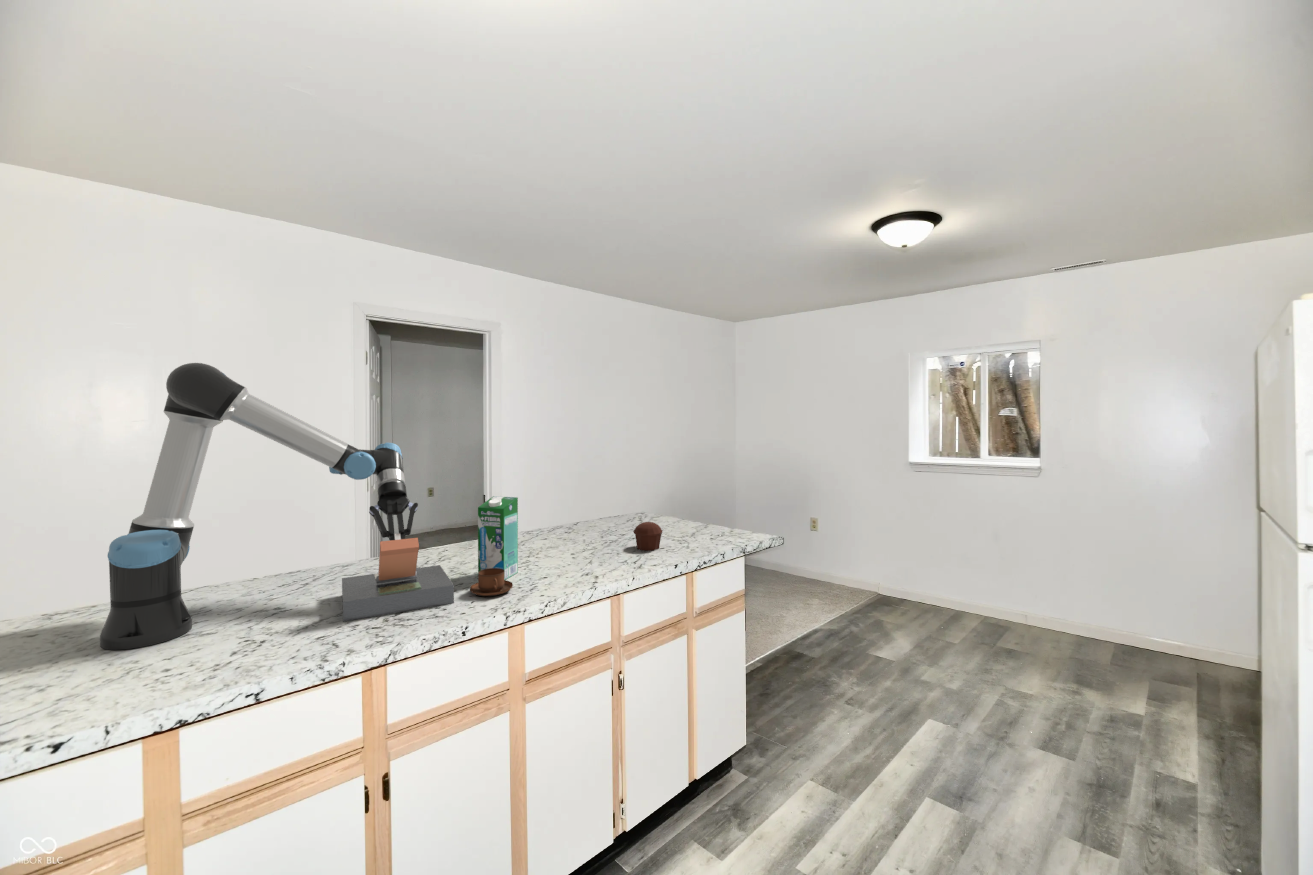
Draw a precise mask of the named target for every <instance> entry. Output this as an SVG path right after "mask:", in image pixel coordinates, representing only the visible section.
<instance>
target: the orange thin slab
mask: <svg viewBox="0 0 1313 875" xmlns="http://www.w3.org/2000/svg"><path fill="white" fill-rule="evenodd" d="M419 550H420V544H419V537H413V538H411V537H410V538H405V539H400V540H391V541H390V540H382V541H379V558H378V574H379V576H376V583H377V584H379V583H386V582H393V581H400V580H407V579H414V578H417V571H416V568H417V567H418V566H417V564H418V556H419Z"/></svg>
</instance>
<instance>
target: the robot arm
mask: <svg viewBox="0 0 1313 875" xmlns="http://www.w3.org/2000/svg"><path fill="white" fill-rule="evenodd" d="M165 382H166V383H165V384H166V386H165V387H166V392H167V398H166V402H165V405H164V409H163V413H164V415H165V416H166V417H167V418H168V421H169V422H168V423H167V424H168V425H167V428H166V431H165V434H164V438H163V442H162V446H161V449H160V452H159V456H158V459H157V460H158V461H157V463H156V466H155V470H154V473H153V477H152V481H151V484H150V487H149V491H148V495H147V498H146V502H145V505H144V509H143V512H142V514H140V515H139V516H137V517H135V518H134V519H132V521H131V523H130V526H129V530H128V533H127V534H124V535H120V536H118V537H116V538H115V539H113V540H112V541H111V542H110V543H109V547H108V552H107V560H108V569H109V570H108V571H109V596H110V597H109V599H110V610H109V613H108V615H107V617H106V619H105V623H104V624H103V628H102V630H101V632H100V635H99V646H100V647H101V649H105V650H111V651H119V650H122V651H123V650H130V649H132V650H133V649H138V648H144V647H149V646H153V645H156V644H157V645H158V644H160V643H164V642H167V641H170V640H173V639H176V638H179V637H180V636H183V635H185V634H186V633H188V632H190V631H191V630H192V628H193V618H192V616H191V613H190V612H189V610H188V608H187V606H186V604H185V602H184V601H185V600H184V599H183V597H182V575H181V574H182V573H181V570H182V569H181V568H182V567H181V566H182V564H183V562H184V561H185V560H186V558H187V557H188V555H189V553H190V549H191V548H190V547H191V546H190V542H191V539H192V534H193V531H194V527H195V523H194V522H193V521H192V520H191V519H190V513H191V510H192V506H193V503H194V500H195V499H194V498H195V495H196V492H197V488H198V484H199V480H200V477H201V473H202V470H203V466H204V463H205V459H206V455H207V452H208V449H209V445H210V440H211V437H212V434H213V430H214V428H215V427H217V426H218V425H220V424H222V423H223V421H227V420H229V421H232V422H234V423H235V424H238V425H240V426H242V427H244V428H246V429H249V430H250V431H253V432H254V433H257V434H259V435H260V436H264V437H266V438H267V439H269V440H272V441H274V442H276V443H277V444H280V445H281V446H282V445H283V446H284V447H287V448H288V449H291V450H293V451H295V452H297V453H300V454H302V455H304V456H306V457H308V458H310V459H312V460H315V461H316V462H318V463H320V464H322V465H325V466H326V467H328V470H329V472H330V474H333V475H341V476H342V475H345V476H347V477H348V478H351V479H352V480H357V481H359V480H366V479H368V478H370V477H372V476H373V475H376V483H377V486H376V487H377V496H378V501H377V502H376V505H371V506H369V511H368V513H369V515H370V516H371V517H373V519H374V522H375V524H376V527H377V529H378V531H379V533H380V536H381V537H382V538H383V539H386V538H387V539H388V541H391V540H400V539H406V536H410V535H411V532H412V527H413V523H414V522H413V521H414V517H415V513H416V512H417V511H418V506H419V503H418V502H414V503H413V502H410V499H409V498H408V494H407V486H406V478H405V472H404V460H403V459H404V458H403V455H402V451H401V447H400V446H399V445H398V444H396V443H393V442H385V443H380V444H378V445H377V446H376V447H375V448H374V449H358V448H357V447H356V446H355V447H354V446H353V445H352V444H351V445H350V444H348V443H347V442H345V441H343V440H341V439H339V438H337V437H335V436H333V435H331V434H329V433H327V432H326V431H324V430H322V429H319V428H317V427H315V426H313V425H311V424H309V423H307V422H305V421H303V420H301V419H300V418H297V417H295V416H294V415H292V414H290V413H288V412H286V411H283V409H280V408H278V407H276V406H274V405H272V404H270V403H268V402H266V401H264V400H262V399H261V398H259V397H256V396H254V395H252V394H250V393H249V391H248V388H247V387H246V386H244V385H242V384H239V383H238V382H236V381H234V380H233V379H232V378H230V377H228V376H227V375H226V374H225V373H223V372H222V371H221V370H219V368H217V367H214V366H212V365H210V364H207V363H202V362H189V363H185V364H182V365H180V366H178V367H176V368H175V369H173V370H172V371H171V372H170V373H169V375H168V377H167V379H166V381H165ZM407 508H408V511H409V514H408V515H409V516H408V520H407V525H406V528H405V524H404V515H403V513H404V512H405V511H406V509H407ZM380 511H381V512H382V513H383V514H384V515H386V519H387V527H386V525H385V523H384V520H383V518H382V515H381V512H380ZM394 515H395V516H396V520H397V529H398V533H395V524H394Z"/></svg>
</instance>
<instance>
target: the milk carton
mask: <svg viewBox="0 0 1313 875" xmlns="http://www.w3.org/2000/svg"><path fill="white" fill-rule="evenodd" d="M518 500H519V497H518V496H516V497H515V496H514V497H513V496H494V495H493V496H491V497H490V498H488V499H487V500H486V501H485V502H483V503H482V504H480V505H479V506H478V507H477V570H478V571H477V573H478V572H479V571H481V570H484V569H489V568H500V569H503V570H504V571H505V574H504V580H506V581H507V580H508V579H509V578H511V577H512V576H515V575H516V574H518V571H519V557H518V556H519V551H518V550H519V544H518V543H519V538H518V536H519V535H518V534H519V520H518V519H519V518H518V517H519V515H518V514H519V513H518V512H519V510H518V509H519V508H518V507H519V506H518V505H519V504H518V503H519V502H518Z"/></svg>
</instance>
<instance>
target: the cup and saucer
mask: <svg viewBox="0 0 1313 875" xmlns="http://www.w3.org/2000/svg"><path fill="white" fill-rule="evenodd" d="M504 574H505V571H504V570H503V569H500V568H489V569H484V570H481V571H479V572H478V571H477V579H478V580H477V581H478V582H476V583H475V582H474V583H473V584H471V585H470V586H469V591H470V592H471V593H472V594H474V595H476V596H480V597H494V596H500V595H502V594H503V595H504V594H505V593H507V592H509V591H510V590H511V589H513V586H514V584H513V582H511V581H509V580H507V579H506V580H504Z"/></svg>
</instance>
